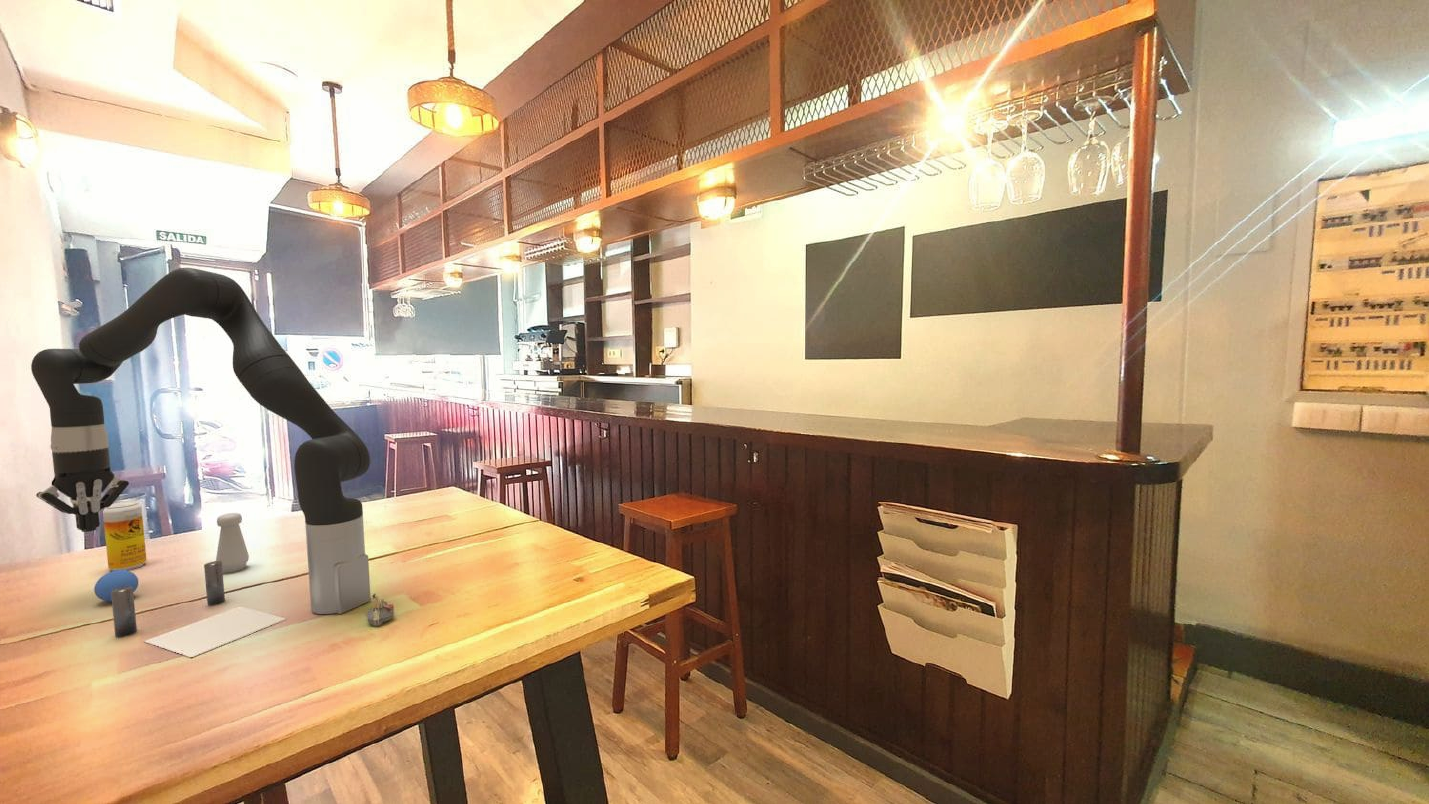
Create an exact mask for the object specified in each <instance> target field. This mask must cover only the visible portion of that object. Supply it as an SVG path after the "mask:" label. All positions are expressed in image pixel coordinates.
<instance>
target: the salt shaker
mask: <svg viewBox="0 0 1429 804" xmlns="http://www.w3.org/2000/svg"><path fill="white" fill-rule="evenodd" d="M242 517H243V516H242V514H240V513H238V512H230V513H225V514H221V515H219V516H218V517H217V518H216V525H217V526H218V527H220V529H219V530H220V532H219V538H218V544H217V551H216V558H215V561H222V569H223V574H230V573H231V574H232V573H236V572H239V571H243V570H244V569H245V568H246V566H247V564H248V561H249V559H250V554H249V552H248V549H247V546H246V542H245V539H244V537H243V536H244V535H243V533H242V530H241V525H240V524H241V523H242V521H243V518H242Z"/></svg>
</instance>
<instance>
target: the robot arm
mask: <svg viewBox="0 0 1429 804" xmlns="http://www.w3.org/2000/svg"><path fill="white" fill-rule="evenodd" d="M181 316H188V317H195V318H203V319H209V320H211V321H214V322H215V323H216V324H217V325H218V326H219V327H221V329H222V330H223V331H224V332H225V334H226V335H227V336H228V338H229V339H230V340H231V343H232V345H233V350H232V351H233V352H232V353H233V354H232V368H233V372H234V375H235V376H236V377H237V380H238V381H239V382H240V384H241V385H242V386H243V387H244V389H245V390H246V391H247V393H248V394H249V396H251V398H252V399H253V400H254V401H256V403H257V404H259V406H261V407H263V408H264V409H266V410H268V411H270V412H272V413H273V414H275V415H276V416H279V417H280V418H282V419H284V420H286V421H288V422H290V423H292V424H293V425H295V426H296V427H298V428H300V429H301V430H303V432H305V433H306V434H307V435H308V436H309V437H310V438H311V439H309V440H306V441H304V442H302V443H301V444H300V445H299V446H298V448H297V450H296V452H295V454H294V463H293V464H294V466H293V467H294V476H295V484H296V485H295V486H296V489H297V490H296V491H297V499H298V504H299V507H300V509H301V512H302V513H303V515H304V516H303V517H304V520H305V521H304V523H305V536H306V537H305V538H306V551H307V553H306V554H307V568H308V569H307V571H308V580H309V583H308V584H309V593H310V594H309V596H310V608H311V609H310V610H311V612H312V613H313V614H318V615H331V614H338V615H339V614H344V613H346V612H349V611H350V610H352V609H356V608H358V607H360V606H361V605H364V604H367V603H369V602H371V601H372V600H371V599H372V598H371V597H372V596H371V582H370V565H369V563H370V562H369V555H368V554H366V549H365V548H366V546H365V531H364V528H365V527H364V511H363V503H362V501H361V500H359V499H357V498H353V497H352V498H351V497H346V496H344V493H343V488H342V483H343V482H347V481H351V480H354V479H358V478H360V477H362V476H363V475H365V474H366V473H367V472H368V470H369V468H370V464H371V456H370V452H369V450H368V447H367V445H366V444H365V442H364V441H363V440H362V439H361V437H360V436H359V435H358V434H357V433H356V432H355V431H354V429H352V428H351V427H350V426H349V425H348V424H347V423H346V422H345V420H343V419H342V418H341V417H340V416H339V415H338V414H337V413H336V412H335V411H334V410H333V409H332V407H331V406H330V405H329V404H328V403H327V402H326V400H325V399H324V398H323V396H321V394H320V393H319V392H318V391H317V390H316V388H315V387H314V386H313V385H312V383H311V382H309V380H308V379H307V377H306V376H305V374H304V373H303V372H302V370H301V369H300V367H299V366H298V365H297V363H296V362H295V361H294V360H293V359H292V357H291V356H290V355H289V354H288V353H287V352H286V350H285V349H284V348H283V347H282V345H281V343H279V341H278V340H277V338H276V337H275V336H274V334H273V333H272V332H271V331H270V330H269V328H268V327H267V326H266V325H265V323H264V321H263V320H262V319H261V317H260V315H259V313H258V311H257V310H256V309H255V307H254V305H253V304H252V302H251V300H250V299H249V297H248V295H247V293H246V292H245V291H244V289H243V288H242V286H241V285H240V284H239V283H238V282H237V281H236V280H234V279H233V278H230V277H229V276H226V275H224V274H221V273H216V272H211V271H208V270H203V269H200V268H193V267H179V268H176V269H174V270H172V271H170V272H168V273H167V274H166V275H164V276H163V277H162V278H160V279H159V280H158V281H157V282H156V283H154V285H152V287H150V288H149V289H148V290H147V291H146V292H144V294H142V295H141V296H140V297H139V298H138V299H137V300H135V301H134V303H133V304H132V305H130V306H129V307H127V309H125V310H124V311H123V312H122V313H120V314H119V315H117V316H116V317H114V318H113V319H112V320H110V321H108V322H106V323H104V324H102V325H101V326H99V327H97V328H96V329H94V330H92V331H90V332H89V333H87V334H86V335H84V336H83V337H82V338H80V340H79V342H78V348H47V349H43V350H41V351H38V352H37V353H36V355H34V357H33V359H32V360H31V365H30V366H31V368H30V369H31V374H32V376H33V379H34V380H35V382H36V384H37V385H38V387H39V390H40V391H41V394H42V395H43V397H44V399H45V402H46V403H47V405H48V408H49V413H50V414H49V416H50V417H49V418H50V426H51V431H50V432H51V434H50V450H51V456H52V463H53V464H52V465H53V474H54V478H53V479H52V481H51V486H49V487H48V488H47V489H45V490H44V491H38V492H37V493H36V495H35V496H36V498H38V499H40V500H41V501H43V502H45V503H46V504H48V505H49V506H50V507H52V508H54V509H56V510H57V511H59V512H60V513H63V514H68V515H71V514H72V515H75V524H76V525H75V526H76V528H77V530H78V531H81V532H82V533H88V532H89V533H90V532H95V531H97V528H99V526H100V524H101V522H100V511H101V510H104V509H105V507H110V506H111V505H112V504H114V502H115V501H116V500H117V499H118V498H119V497H120V495H121V494H122V493H123V492H124V491H125V490H126V488H127V487H128V486H129V484H130V482H129V481H128V480H126V479H125V480H123V479H121V478H117V477H115V474H114V472H112V470H111V459H110V450H109V449H110V448H109V447H110V446H109V440H108V438H109V437H108V433H107V429H106V424H105V415H104V406H103V401H102V400H101V398H100V397H97V396H94V395H88V394H87V395H85V394H82V393H80V391H78V389H77V386H75V384H77V385H79V384H80V385H81V384H93V383H94V384H95V383H98V382H101V381H104V380H106V379H108V378H110V377H111V376H113V374H114V373H115V372H116V371H117V370H118V369H119V367H120V366H121V365H122V364H123V362H125V361H126V360H128V359H131V358H132V357H134V356H136V355H137V354H140V353H141V352H143V351H144V350H146V349H147V348H148V347H150V346H151V344H152V343H154V341H155V339H156V337H157V334H158V328H159V327H160V325H161V324H163V323H164V322H167V321H169V320H172V319H174V318H177V317H181ZM108 486H109V489H108V490H107V491H106V493H105V494H104V495H103V496H102V493H104V491H105V490H106V489H107V487H108ZM58 491H59V492H60V493H62V494H63V495H64V496H65V497H68V498H69V500H70V503H71V505H72V506H71V505H70V504H68V503H66V502H65V501H62V500H61V499H60V498H59V497H60V494H59V493H58Z"/></svg>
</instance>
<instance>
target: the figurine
mask: <svg viewBox="0 0 1429 804" xmlns="http://www.w3.org/2000/svg"><path fill="white" fill-rule="evenodd" d="M371 597H372V600H374V606H373V607H371V608H370V609H368V610H367V611H366V612H365V617H366V618H367V620H366V621H367V623H369V624H371V625H372V626H373V627H378V626H381V625H382V624H384V623H386V621H387V622H389V621H391V620H392V619H393V618H394V615H395V609H394V608H395V605H394V604H392V603H391V600H389V601H386V600H385V599H384V598H382V599H381V598H380V597H379V596H378V595H377V593H374V594H372V596H371ZM383 622H384V623H383Z"/></svg>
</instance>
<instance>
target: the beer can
mask: <svg viewBox="0 0 1429 804" xmlns="http://www.w3.org/2000/svg"><path fill="white" fill-rule="evenodd" d="M102 516H103V517H102V518H103V527H104V537H105V547H106V557H107V558H106V559H107V566H108V567H107V568H108V569H109V570H111V572H112V571H116V570H126V571H130V570H135V569H138V568H141V567H142V565H143V564H144V565H145V563H146V562H147V551H146V550H147V549H146V542H145V530H144V521H143V520H144V519H143V508H142V505H141V504H140V502H139V501H137V500H136V501H133V500H132V501H130V500H129V501H121V502H115V503H113V504H112V505H111V506H110V507H105V508H103V511H102ZM144 565H143V566H144Z"/></svg>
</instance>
